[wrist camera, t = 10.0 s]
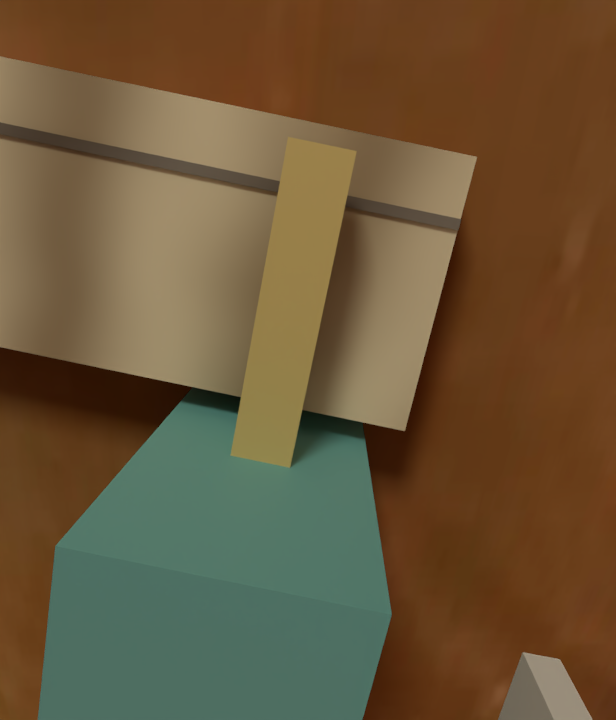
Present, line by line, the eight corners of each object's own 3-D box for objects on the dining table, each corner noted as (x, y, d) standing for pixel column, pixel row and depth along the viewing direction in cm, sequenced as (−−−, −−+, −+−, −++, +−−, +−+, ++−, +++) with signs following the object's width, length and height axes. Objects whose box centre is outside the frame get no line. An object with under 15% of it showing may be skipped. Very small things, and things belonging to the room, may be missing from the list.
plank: (-258, 269, 19) (-348, 276, 16) (-270, 13, 17) (-374, -24, 15) (395, 405, 19) (405, 432, 17) (456, 166, 17) (477, 156, 15)
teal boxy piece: (174, 510, 21) (33, 767, 11) (232, 147, 17) (106, 47, 8) (332, 543, 21) (332, 827, 11) (417, 186, 17) (525, 136, 8)
